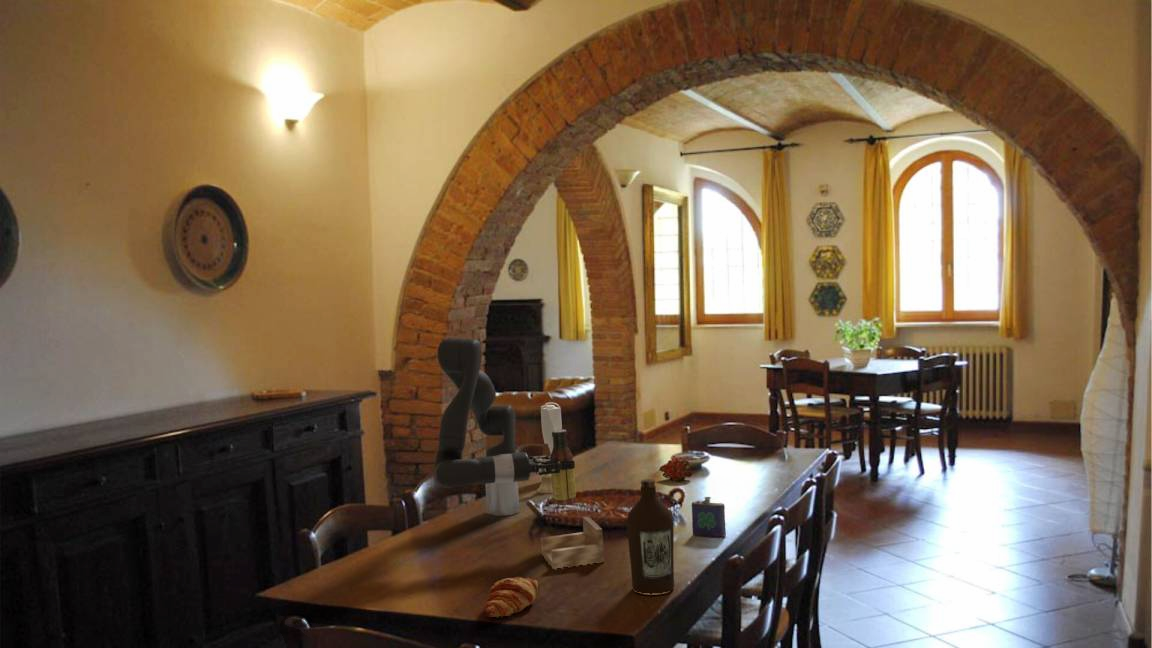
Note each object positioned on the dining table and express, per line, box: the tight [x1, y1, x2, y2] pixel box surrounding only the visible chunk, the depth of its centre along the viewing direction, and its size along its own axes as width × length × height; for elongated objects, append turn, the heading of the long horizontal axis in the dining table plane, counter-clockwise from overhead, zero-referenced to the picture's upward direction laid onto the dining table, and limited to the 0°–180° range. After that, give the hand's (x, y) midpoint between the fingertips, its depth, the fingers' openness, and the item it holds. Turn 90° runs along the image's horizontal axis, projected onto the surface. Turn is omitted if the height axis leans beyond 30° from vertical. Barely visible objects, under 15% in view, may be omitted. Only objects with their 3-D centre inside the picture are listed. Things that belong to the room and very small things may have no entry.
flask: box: [691, 496, 727, 539], centre depth 248 cm, size 9×3×11 cm, turn 63°
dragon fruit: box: [658, 456, 694, 482], centre depth 315 cm, size 8×8×12 cm
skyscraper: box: [540, 401, 563, 454], centre depth 325 cm, size 8×8×28 cm
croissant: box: [484, 576, 539, 618], centre depth 204 cm, size 21×10×8 cm, turn 155°
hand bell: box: [536, 443, 553, 495], centre depth 310 cm, size 8×8×16 cm
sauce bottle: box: [551, 429, 577, 506], centre depth 249 cm, size 7×6×20 cm
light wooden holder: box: [540, 516, 605, 570], centre depth 235 cm, size 13×13×8 cm
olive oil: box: [626, 478, 675, 594], centre depth 209 cm, size 11×11×25 cm
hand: (570, 462), depth 249 cm, fingers closed on sauce bottle, 6 cm apart
